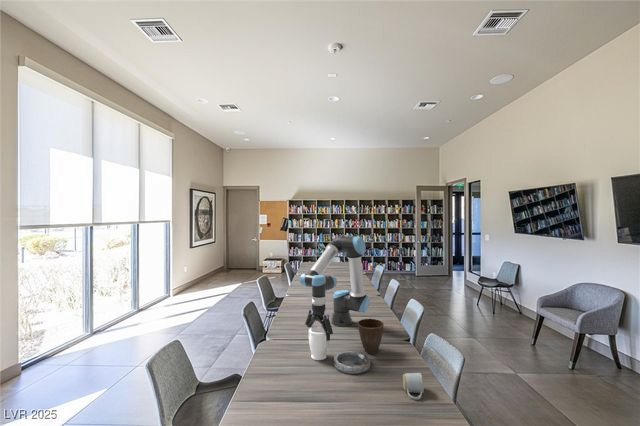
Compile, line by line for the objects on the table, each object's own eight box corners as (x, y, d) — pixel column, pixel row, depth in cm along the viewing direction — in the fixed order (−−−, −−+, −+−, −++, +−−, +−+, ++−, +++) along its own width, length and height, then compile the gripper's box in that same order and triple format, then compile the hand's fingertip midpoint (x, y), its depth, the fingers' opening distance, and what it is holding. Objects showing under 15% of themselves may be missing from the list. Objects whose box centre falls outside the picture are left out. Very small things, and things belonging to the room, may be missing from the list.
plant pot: (368, 359, 159) (368, 329, 159) (352, 348, 172) (352, 321, 172) (389, 353, 166) (389, 325, 166) (373, 343, 179) (373, 317, 179)
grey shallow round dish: (326, 364, 154) (326, 357, 154) (350, 352, 167) (350, 346, 167) (353, 379, 140) (353, 371, 140) (377, 365, 153) (377, 358, 153)
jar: (330, 354, 165) (330, 327, 165) (324, 363, 155) (324, 334, 155) (313, 351, 168) (313, 325, 169) (306, 359, 159) (306, 332, 159)
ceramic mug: (402, 385, 135) (402, 368, 135) (420, 386, 134) (420, 369, 134) (406, 400, 124) (406, 382, 124) (426, 401, 123) (426, 383, 123)
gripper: (299, 300, 169) (299, 337, 168) (329, 310, 150) (329, 352, 150) (309, 298, 174) (309, 333, 173) (339, 307, 155) (339, 347, 155)
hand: (318, 342), depth 162 cm, fingers open, 13 cm apart
